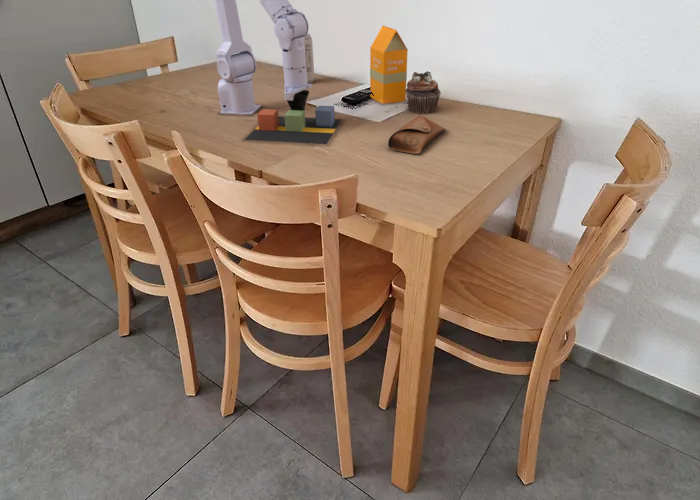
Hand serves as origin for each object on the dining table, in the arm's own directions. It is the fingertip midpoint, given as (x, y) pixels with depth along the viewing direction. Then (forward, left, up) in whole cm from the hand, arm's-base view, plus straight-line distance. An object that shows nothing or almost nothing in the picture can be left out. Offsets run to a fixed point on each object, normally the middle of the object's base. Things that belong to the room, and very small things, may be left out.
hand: (298, 119), depth 130 cm
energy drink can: (-10, +42, -2) cm, 43 cm away
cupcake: (+31, +18, -2) cm, 36 cm away
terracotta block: (-7, -4, -1) cm, 8 cm away
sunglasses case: (+32, -6, -2) cm, 33 cm away
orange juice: (+20, +26, -2) cm, 33 cm away
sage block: (0, -4, -1) cm, 4 cm away
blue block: (+7, +1, -1) cm, 7 cm away
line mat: (0, -4, -1) cm, 4 cm away
